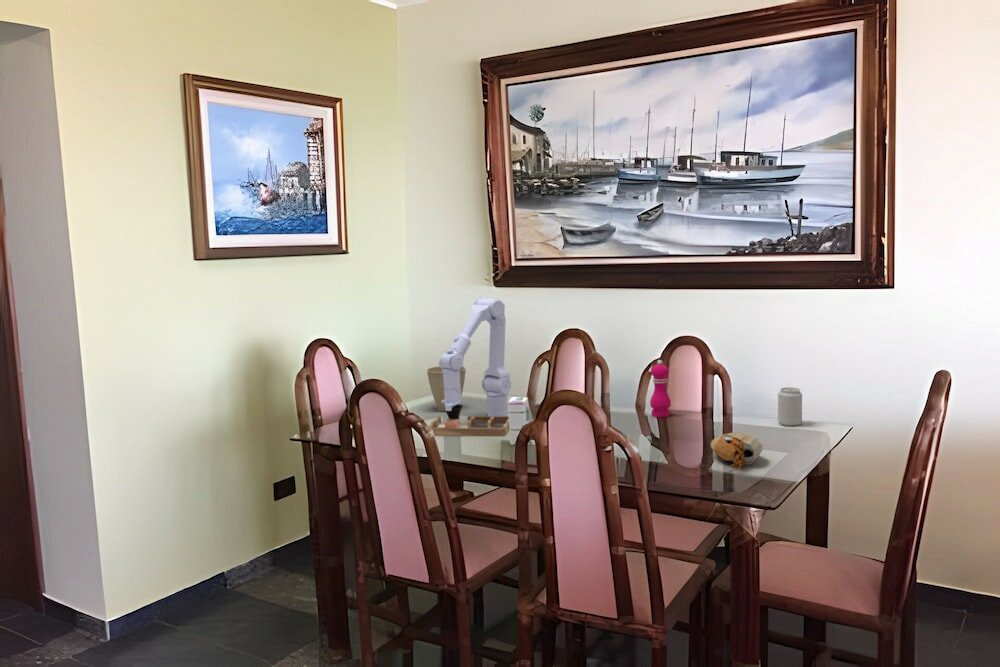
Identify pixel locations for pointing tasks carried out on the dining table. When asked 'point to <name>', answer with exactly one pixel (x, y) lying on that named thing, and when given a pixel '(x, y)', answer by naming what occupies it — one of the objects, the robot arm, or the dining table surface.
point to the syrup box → (517, 415)
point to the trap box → (474, 426)
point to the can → (790, 406)
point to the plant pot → (441, 384)
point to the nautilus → (737, 448)
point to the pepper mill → (660, 391)
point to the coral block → (452, 423)
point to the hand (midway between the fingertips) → (454, 426)
